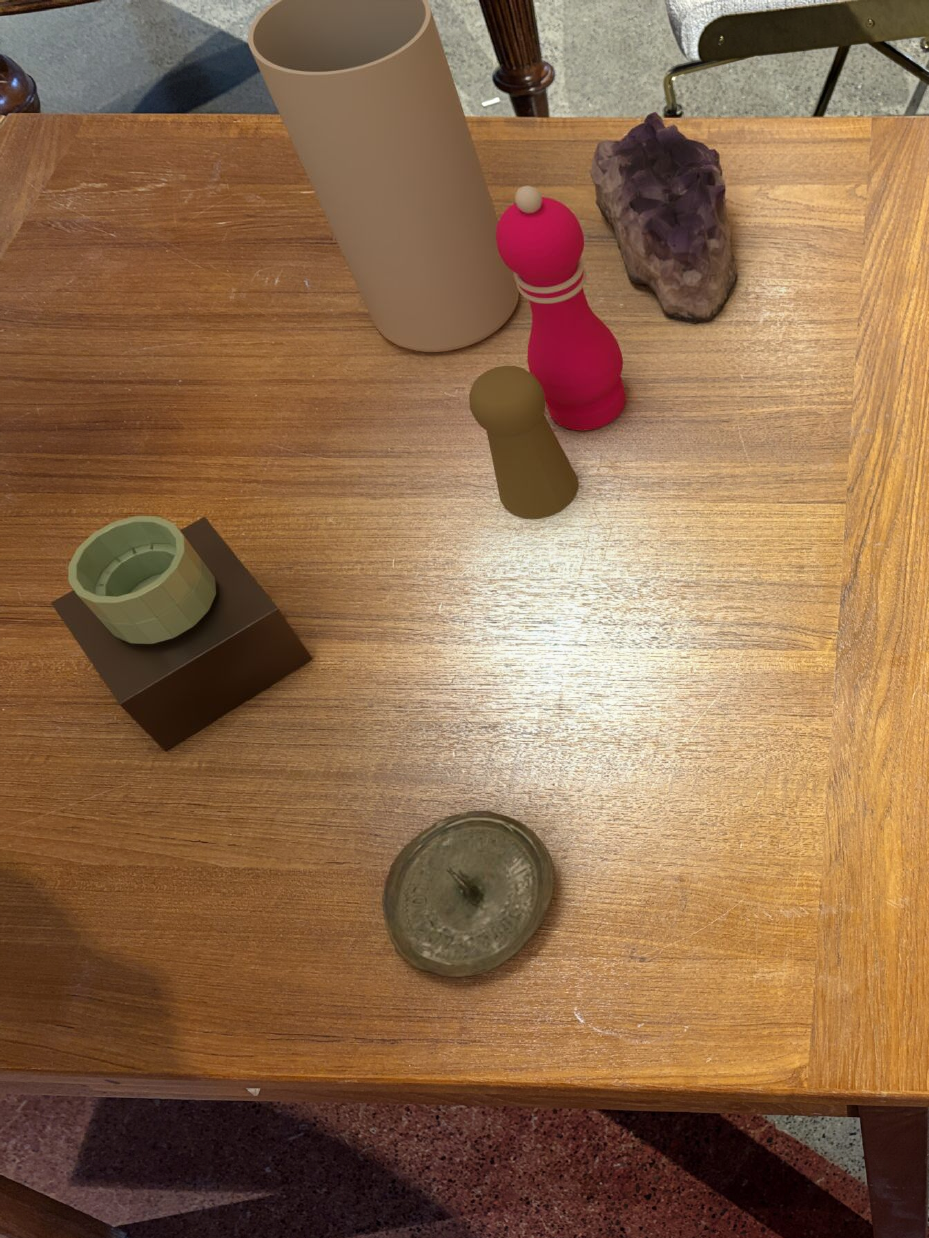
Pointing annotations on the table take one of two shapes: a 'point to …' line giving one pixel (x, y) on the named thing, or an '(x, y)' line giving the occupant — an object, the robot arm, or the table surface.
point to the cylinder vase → (390, 163)
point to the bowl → (142, 579)
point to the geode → (668, 217)
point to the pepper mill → (561, 313)
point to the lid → (467, 894)
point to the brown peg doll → (522, 443)
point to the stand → (194, 650)
